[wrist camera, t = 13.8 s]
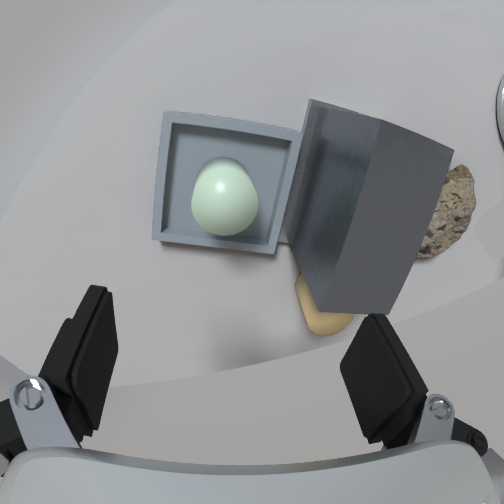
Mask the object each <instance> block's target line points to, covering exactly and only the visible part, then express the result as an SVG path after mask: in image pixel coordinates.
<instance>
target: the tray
mask: <svg viewBox="0 0 504 504" xmlns="http://www.w3.org/2000/svg"><path fill="white" fill-rule="evenodd" d="M302 138H303V134H302V133H300V132H298V131H295V130H290V129H285V128H281V127H276V126H271V125H265V124H260V123H255V122H249V121H243V120H237V119H230V118H224V117H217V116H209V115H202V114H193V113H184V112H174V111H166V112H164V114H163V121H162V129H161V137H160V145H159V153H158V163H157V173H156V184H155V196H154V210H153V226H152V240H158V241H166V242H175V243H183V244H192V245H200V246H208V247H217V248H225V249H234V250H242V251H250V252H259V253H267V254H274V253H275V249H276V245H277V241H278V237H279V233H280V229H281V225H282V221H283V217H284V213H285V209H286V205H287V201H288V197H289V193H290V188H291V184H292V180H293V176H294V172H295V168H296V163H297V159H298V155H299V151H300V147H301V142H302ZM217 157H230V158H233V159H236V160H238V161H239V162H240V163H242V164H243V165H244V167H245V168H246V169H247V171H248V174H249V176H250V178H251V181H252V183H253V185H254V188H255V190H256V193H257V196H258V201H259V206H258V211H257V214H256V217H255V219H254V220H253V222H252V223H251V224H250V225H249V226H248V227H247V228H246V229H244V230H243V231H241V232H239V233H237V234H233V235H228V236H221V235H215V234H212V233H210V232H208V231H206V230H204V229H203V228H202V227H201V226H200V225H199V224H198V223H197V221H196V220H195V218H194V216H193V213H192V208H191V201H192V196H193V192H194V187H195V183H196V179H197V175H198V173H199V171H200V169H201V168H202V166H203V165H204V164H205V163H207V162H208V161H209V160H211V159H214V158H217Z"/></svg>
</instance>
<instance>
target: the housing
mask: <svg viewBox="0 0 504 504" xmlns="http://www.w3.org/2000/svg"><path fill="white" fill-rule="evenodd" d="M302 134H303V138H302V142H301V147H300V151H299V155H298V159H297V163H296V168H295V172H294V176H293V180H292V184H291V188H290V193H289V197H288V201H287V205H286V209H285V213H284V217H283V221H282V225H281V229H280V233H279V237H278V242H284V243H289V244H290V247H291V249H292V251H293V253H294V256H295V258H296V260H297V263H298V265H299V267H300V269H301V272H302V274H303V276H304V279H305V281H306V283H307V286H308V288H309V290H310V293H311V295H312V297H313V300H314V302H315V305H316V307H317V309H318V312H327V313H349V314H370V313H379V314H384V315H389V313H390V311H391V309H392V307H393V305H394V303H395V301H396V299H397V297H398V295H399V293H400V291H401V289H402V287H403V285H404V282H405V280H406V278H407V276H408V274H409V272H410V270H411V267H412V265H413V263H414V261H415V258H416V256H417V254H418V251H419V249H420V247H421V244H422V242H423V239H424V237H425V235H426V232H427V229H428V227H429V224H430V222H431V219H432V217H433V214H434V211H435V208H436V206H437V203H438V200H439V197H440V194H441V191H442V188H443V185H444V182H445V179H446V176H447V173H448V170H449V166H450V163H451V160H452V156H453V153H454V150H453V149H451V148H449V147H447V146H445V145H443V144H440V143H438V142H436V141H434V140H431V139H429V138H427V137H425V136H422V135H420V134H418V133H415V132H413V131H410V130H408V129H405V128H403V127H400V126H398V125H395V124H392V123H390V122H387V121H384V120H381V119H377V118H373V117H370V116H367V115H364V114H361V113H358V112H355V111H351V110H348V109H345V108H342V107H338V106H335V105H331V104H328V103H324V102H321V101H317V100H313V99H309V103H308V107H307V112H306V116H305V121H304V125H303V129H302Z"/></svg>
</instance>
